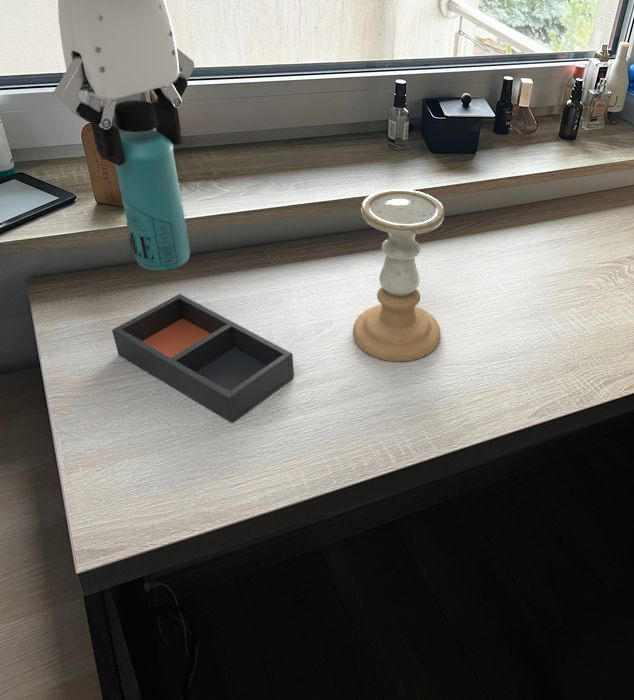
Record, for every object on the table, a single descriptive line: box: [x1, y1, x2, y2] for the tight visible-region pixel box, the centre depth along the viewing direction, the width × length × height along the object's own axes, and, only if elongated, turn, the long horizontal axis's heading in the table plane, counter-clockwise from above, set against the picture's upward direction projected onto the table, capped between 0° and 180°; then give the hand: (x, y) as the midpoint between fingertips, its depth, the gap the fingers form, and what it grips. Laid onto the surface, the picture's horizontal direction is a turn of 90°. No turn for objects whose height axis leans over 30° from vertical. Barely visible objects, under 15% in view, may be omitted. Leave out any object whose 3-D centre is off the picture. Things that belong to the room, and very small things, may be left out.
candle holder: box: [352, 188, 445, 363], centre depth 96 cm, size 12×12×20 cm
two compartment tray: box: [111, 293, 295, 424], centre depth 92 cm, size 11×20×4 cm, turn 58°
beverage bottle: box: [114, 99, 192, 272], centre depth 81 cm, size 6×7×20 cm
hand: (142, 149), depth 78 cm, fingers closed on beverage bottle, 6 cm apart
